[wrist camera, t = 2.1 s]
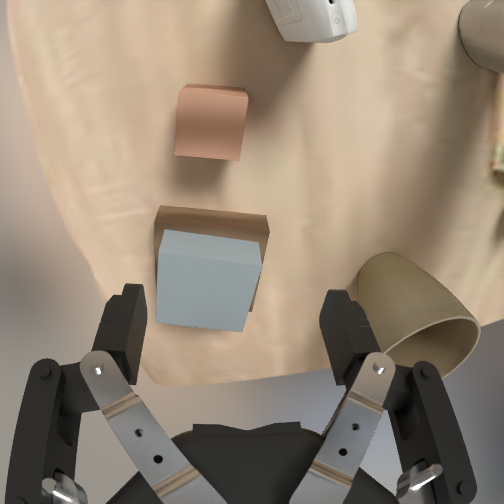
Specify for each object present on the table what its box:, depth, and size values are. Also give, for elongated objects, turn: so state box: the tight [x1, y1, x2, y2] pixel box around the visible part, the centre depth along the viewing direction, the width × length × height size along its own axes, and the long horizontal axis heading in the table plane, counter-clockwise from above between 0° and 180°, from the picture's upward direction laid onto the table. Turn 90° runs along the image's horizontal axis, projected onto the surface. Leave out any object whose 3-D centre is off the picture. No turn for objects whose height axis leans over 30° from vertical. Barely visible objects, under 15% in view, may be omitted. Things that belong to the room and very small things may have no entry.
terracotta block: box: [174, 84, 249, 161], centre depth 27 cm, size 6×6×6 cm
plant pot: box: [357, 253, 481, 379], centre depth 37 cm, size 15×15×16 cm
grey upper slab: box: [156, 229, 262, 332], centre depth 35 cm, size 10×10×4 cm
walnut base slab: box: [155, 206, 270, 312], centre depth 38 cm, size 12×12×4 cm
